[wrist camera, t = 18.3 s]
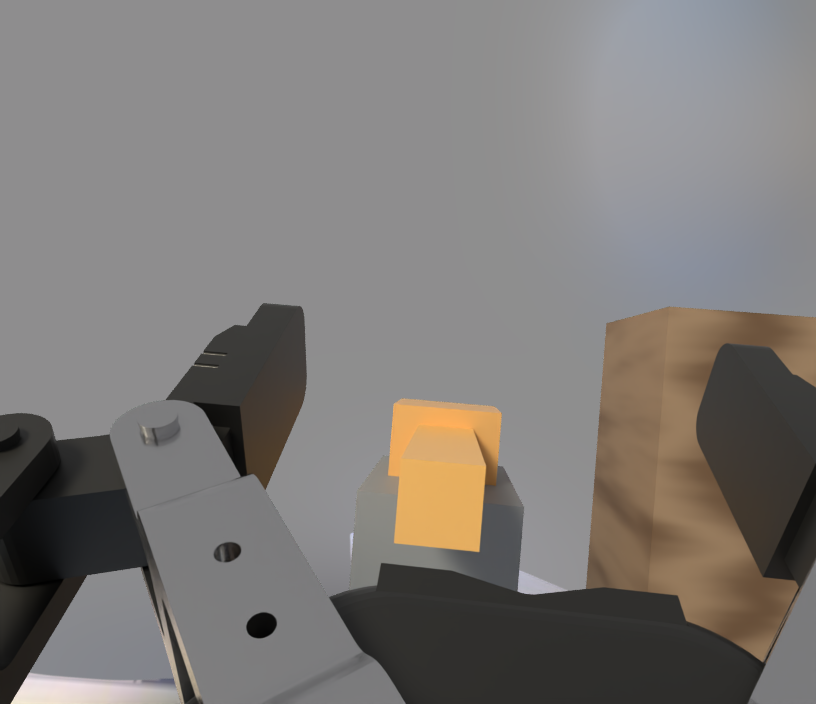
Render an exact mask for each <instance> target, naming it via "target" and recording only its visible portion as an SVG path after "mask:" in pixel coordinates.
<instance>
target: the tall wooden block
mask: <svg viewBox="0 0 816 704" xmlns="http://www.w3.org/2000/svg"><path fill="white" fill-rule="evenodd" d="M726 343H731V344H743V345H754V346H766V347H770V348H771V349H772V350H773V351H774V352H775V353H776V355H777V356H778V357H779V358H780V359H781V361H782V362H783V363H784V364H785V366H786V367H787V368H788V369H789V370H790V372H791V373H792V374H793V375H798V376H799V377H801V378H802V379H804V380H805V381H807V382H808V383H810V384H811V385H813V386H814V387H816V317H815V318H814V317H801V316H788V315H774V314H761V313H747V312H734V311H721V310H707V309H693V308H680V307H666V308H663V309H659V310H655V311H651V312H648V313H644V314H640V315H637V316H633V317H629V318H625V319H621V320H618V321H614V322H610V323H607V326H606V338H605V350H604V364H603V377H602V389H601V402H600V415H599V428H598V442H597V455H596V467H595V480H594V494H593V506H592V520H591V533H590V545H589V558H588V571H587V585H586V589H591V588H601V587H606V588H615V589H624V590H633V591H642V592H651V593H660V594H670V595H678V597H679V600H680V604H681V607H682V610H683V613H684V616H685V619H686V621H688V622H691V623H694V624H696V625H699V626H701V627H704V628H706V629H708V630H711V631H713V632H715V633H717V634H719V635H721V636H723V637H725V638H726V639H728V640H730V641H732V642H734V643H735V644H737V645H739V646H740V647H742V648H743V649H745V650H746V651H748V652H750V653H751V654H752V655H754V656H755V657H756V658H758V659H759V660H760V661H763V659H764V657H765V655H766V653H767V650H768V648H769V646H770V644H771V642H772V640H773V638H774V636H775V634H776V632H777V630H778V628H779V626H780V624H781V622H782V620H783V618H784V616H785V613H786V611H787V609H788V607H789V605H790V603H791V601H792V599H793V597H794V595H795V593H796V591H797V589H798V588H799V587H798V585H797V583H796V581H793V580H784V579H774V578H765V577H762V575H761V573H760V571H759V568H758V566H757V564H756V562H755V560H754V558H753V556H752V554H751V552H750V550H749V548H748V546H747V544H746V541H745V539H744V537H743V535H742V533H741V531H740V529H739V527H738V525H737V523H736V521H735V519H734V517H733V515H732V512H731V510H730V508H729V506H728V504H727V502H726V500H725V498H724V496H723V494H722V492H721V490H720V488H719V485H718V483H717V481H716V479H715V477H714V475H713V473H712V471H711V469H710V467H709V465H708V463H707V461H706V459H705V456H704V454H703V452H702V450H701V448H700V446H699V444H698V440H697V435H696V420H697V414H698V410H699V407H700V404H701V401H702V398H703V395H704V392H705V389H706V386H707V383H708V380H709V377H710V374H711V371H712V368H713V365H714V361H715V358H716V356H717V353H718V351H719V349H720V348H721V347H722V346H723V345H724V344H726Z"/></svg>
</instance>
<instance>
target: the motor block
mask: <svg viewBox="0 0 816 704" xmlns="http://www.w3.org/2000/svg"><path fill="white" fill-rule="evenodd" d="M389 458H390V456H383V457H382V458H381V460H380V461H379V463H378V464H377V465H376V466H375V468H374V469H373V471H372V472H371V473H370V474H369V476H368V477H367V478H366V480H365V481H364V482H363V484H362V485H361V487H360V488H359V489H358V491H357V500H356V511H355V524H354V536H353V548H352V560H351V572H350V584H349V590H353V589H357V588H362V587H367V586H375V585H377V583H378V577H379V571H380V566H381V563H388V564H397V565H406V566H415V567H424V568H433V569H442V570H451V571H455V572H458V573H461V574H464V575H467V576H470V577H474V578H477V579H480V580H483V581H486V582H489V583H492V584H495V585H498V586H501V587H504V588H507V589H510V590H514V591H517V590H518V577H519V564H520V563H519V562H520V551H521V539H522V526H523V513H524V506H523V504H522V502H521V500H520V499H519V496H518V495H517V493H516V491H515V489H514V487H513V485H512V483H511V481H510V479H509V477H508V475H507V473H506V471H505V469H504V468H503V467H500V466H497V479H496V486H494V485H485V486H484V498H483V511H482V523H481V536H480V548H479V552H475V551H465V550H455V549H446V548H436V547H426V546H416V545H406V544H396V543H394V536H395V524H396V512H397V499H398V487H399V476H388V470H389Z"/></svg>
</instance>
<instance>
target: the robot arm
mask: <svg viewBox="0 0 816 704" xmlns="http://www.w3.org/2000/svg"><path fill="white" fill-rule="evenodd" d="M305 351H306V349H305V326H304V313H303V309H302V308H301V307H300V306H290V305H278V304H267V303H263V304H262V305H261V306H260V308H259V309H258V311H257V312H256V313H255V315H254V316H253V318H252V319H251V320H250V322H249V324H248V325H247V326H240V325H234V326H232V327H231V328H229V329H227V330H225V331H224V332H222V333H220V334H219V335H217V336H215V337H214V338H213V340H212V341H211V342H210V343H209V345H208V346H207V347H206V349H205V350H204V353H203V354H201V355H200V356H199V358H198V359H197V360H196V361H195V364H194V366H192V367H191V368H190V369H189V371H188V372H187V373H186V374H185V376H184V377H183V378H182V379H181V381H180V382H179V384H178V385H177V386H176V387H175V388H174V390H173V391H172V392H171V394H170V395H169V396H168V398H167V399H166V400H163V401H156V402H151V403H147V404H143V405H141V406H138V407H135V408H133V409H131V410H129V411H128V412H126V413H125V414H123V415H122V416H120V417H119V418H118V419H117V420H116V421H115V423H114V424H113V425H112V428H111V430H110V434H109V435H103V436H95V437H86V438H76V439H67V440H58V441H56V439H55V436H54V432H53V429H52V426H51V424H50V422H49V421H48V420H46V419H45V418H43V417H41V416H37V415H33V414H25V413H24V414H23V413H16V414H7V415H1V416H0V704H11V702H12V700H13V699H14V697H15V695H16V694H17V692H18V690H19V689H20V687H21V685H22V684H23V682H24V680H25V679H26V677H27V675H28V674H29V672H30V670H31V669H32V667H33V665H34V664H35V662H36V660H37V658H38V657H39V655H40V653H41V652H42V650H43V648H44V647H45V645H46V643H47V642H48V640H49V638H50V637H51V635H52V633H53V632H54V630H55V628H56V627H57V625H58V623H59V622H60V620H61V618H62V617H63V615H64V613H65V612H66V610H67V608H68V607H69V605H70V603H71V602H72V600H73V598H74V597H75V595H76V593H77V592H78V590H79V588H80V587H81V585H82V583H83V582H84V580H85V578H86V576H87V575H91V574H98V573H104V572H111V571H117V570H123V569H130V568H137V567H141V571H142V574H143V577H144V581H145V584H146V587H147V590H148V594H149V597H150V600H151V603H152V606H153V609H154V613H155V616H156V619H157V623H158V625H159V629H160V632H161V635H162V638H163V642H164V645H165V648H166V651H167V655H168V658H169V662H170V665H171V668H172V672H173V676H174V680H175V684H176V688H177V691H178V695H179V699H180V702H181V704H816V387H814V386H813V385H811V384H810V383H808V382H807V381H805V380H804V379H802V378H801V377H799V376H798V375H793V374H792V373H791V372H790V370H789V369H788V368H787V367H786V366H785V364H784V363H783V362H782V361H781V359H780V358H779V357H778V356H777V355H776V353H775V352H774V351H773V350H772V349H771V348H770V347H766V346H754V345H743V344H731V343H726V344H724V345H723V346H722V347H721V348H720V349H719V351H718V353H717V356H716V358H715V361H714V365H713V368H712V371H711V374H710V377H709V380H708V383H707V386H706V389H705V392H704V395H703V398H702V401H701V404H700V407H699V410H698V414H697V420H696V435H697V440H698V444H699V446H700V448H701V450H702V452H703V454H704V456H705V459H706V461H707V463H708V465H709V467H710V469H711V471H712V473H713V475H714V477H715V479H716V481H717V483H718V485H719V488H720V490H721V492H722V494H723V496H724V498H725V500H726V502H727V504H728V506H729V508H730V510H731V512H732V515H733V517H734V519H735V521H736V523H737V525H738V527H739V529H740V531H741V533H742V535H743V537H744V539H745V541H746V544H747V546H748V548H749V550H750V552H751V554H752V556H753V558H754V560H755V562H756V564H757V566H758V568H759V571H760V573H761V575H762V577H765V578H774V579H784V580H793V581H796V583H797V585H798V587H799V588H798V589H797V591H796V593H795V595H794V597H793V599H792V601H791V603H790V605H789V607H788V609H787V611H786V613H785V616H784V618H783V620H782V622H781V624H780V626H779V628H778V630H777V632H776V634H775V636H774V638H773V640H772V642H771V644H770V646H769V648H768V650H767V653H766V655H765V657H764V659H763V661H760V660H759V659H758V658H756V657H755V656H754V655H752V654H751V653H750V652H748V651H746V650H745V649H743V648H742V647H740V646H739V645H737V644H735V643H734V642H732V641H730V640H728V639H726V638H725V637H723V636H721V635H719V634H717V633H715V632H713V631H711V630H708V629H706V628H704V627H701V626H699V625H696V624H694V623H691V622H688V621H686V619H685V616H684V613H683V610H682V607H681V604H680V600H679V597H678V595H670V594H660V593H651V592H642V591H633V590H624V589H615V588H606V587H601V588H591V589H582V590H573V591H564V592H555V593H545V594H536V595H530V594H524V593H520V592H517V591H514V590H510V589H507V588H504V587H501V586H498V585H495V584H492V583H489V582H486V581H483V580H480V579H477V578H474V577H470V576H467V575H464V574H461V573H458V572H455V571H451V570H442V569H433V568H424V567H415V566H406V565H397V564H388V563H381V566H380V571H379V577H378V583H377V585H375V586H367V587H362V588H357V589H353V590H349V591H345V592H342V593H339V594H336V595H334V596H331V597H328V595H327V594H326V592H325V590H324V588H323V587H322V585H321V583H320V582H319V580H318V578H317V577H316V575H315V573H314V572H313V570H312V569H311V567H310V565H309V563H308V562H307V560H306V558H305V557H304V555H303V553H302V552H301V550H300V548H299V546H298V545H297V543H296V541H295V540H294V538H293V536H292V535H291V533H290V531H289V530H288V528H287V526H286V525H285V523H284V521H283V520H282V518H281V516H280V515H279V513H278V511H277V510H276V508H275V506H274V504H273V503H272V501H271V499H270V498H269V496H268V495H267V493H266V491H265V490H266V487H267V485H268V483H269V480H270V478H271V476H272V474H273V471H274V469H275V467H276V464H277V462H278V460H279V457H280V455H281V453H282V451H283V448H284V446H285V443H286V441H287V439H288V437H289V434H290V432H291V430H292V428H293V425H294V423H295V420H296V418H297V416H298V414H299V411H300V409H301V407H302V404H303V401H304V396H305V390H306V377H307V375H306V374H307V373H306V352H305Z"/></svg>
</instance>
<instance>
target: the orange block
mask: <svg viewBox="0 0 816 704" xmlns="http://www.w3.org/2000/svg"><path fill="white" fill-rule="evenodd" d="M501 415H502V413H501V412H500V411H499V410H498V409H497V408H496V407H494V406H484V405H473V404H461V403H450V402H437V401H426V400H415V399H403V398H402V399H401V400H399V401H398V402H396V403H395V404H394V409H393V421H392V433H391V446H390V458H389V470H388V476H399V487H398V499H397V512H396V524H395V536H394V543H396V544H406V545H416V546H426V547H436V548H446V549H455V550H465V551H475V552H479V548H480V536H481V523H482V511H483V498H484V486H485V485H494V486H496V479H497V466H498V453H499V441H500V428H501Z"/></svg>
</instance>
